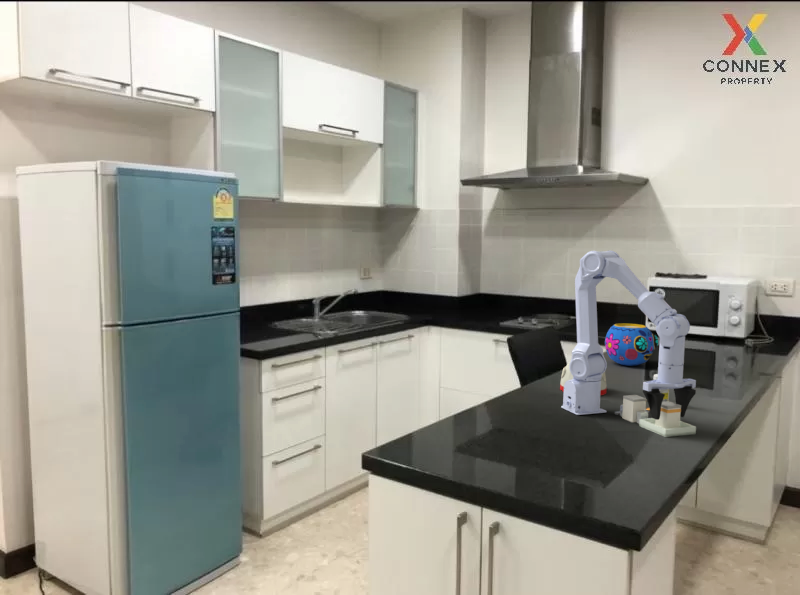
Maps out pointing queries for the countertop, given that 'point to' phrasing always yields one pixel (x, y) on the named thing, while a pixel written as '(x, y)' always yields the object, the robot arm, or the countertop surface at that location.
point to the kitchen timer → (568, 376)
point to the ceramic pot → (630, 344)
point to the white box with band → (669, 415)
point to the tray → (682, 430)
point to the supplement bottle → (663, 390)
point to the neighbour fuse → (633, 407)
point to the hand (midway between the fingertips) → (667, 417)
